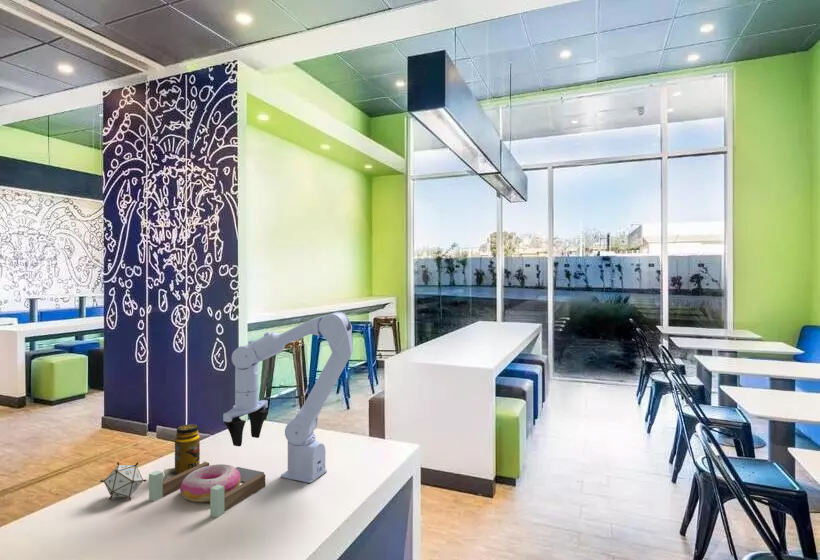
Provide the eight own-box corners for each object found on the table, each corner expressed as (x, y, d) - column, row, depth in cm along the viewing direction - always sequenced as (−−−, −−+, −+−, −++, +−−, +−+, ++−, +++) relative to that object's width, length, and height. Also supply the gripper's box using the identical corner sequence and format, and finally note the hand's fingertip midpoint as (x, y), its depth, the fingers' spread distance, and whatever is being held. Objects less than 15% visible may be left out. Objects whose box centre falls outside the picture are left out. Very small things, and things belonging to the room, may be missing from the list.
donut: (198, 480, 118) (198, 460, 118) (249, 480, 118) (249, 461, 118) (169, 506, 105) (169, 484, 105) (226, 507, 104) (226, 485, 104)
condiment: (203, 473, 122) (203, 428, 122) (167, 480, 118) (167, 434, 118) (198, 463, 128) (198, 421, 128) (164, 470, 124) (164, 426, 124)
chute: (266, 486, 114) (267, 462, 114) (217, 517, 100) (217, 489, 99) (203, 472, 122) (203, 450, 122) (149, 499, 108) (148, 473, 108)
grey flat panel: (263, 473, 122) (263, 472, 122) (246, 483, 116) (246, 482, 116) (237, 467, 126) (237, 466, 126) (219, 477, 120) (219, 476, 120)
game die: (122, 516, 107) (104, 495, 101) (105, 495, 111) (87, 473, 105) (158, 487, 112) (143, 465, 106) (140, 468, 116) (125, 445, 110)
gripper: (253, 383, 131) (253, 431, 131) (214, 395, 117) (214, 448, 117) (273, 385, 128) (273, 434, 128) (235, 397, 115) (235, 452, 115)
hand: (246, 441), depth 122 cm, fingers open, 6 cm apart
